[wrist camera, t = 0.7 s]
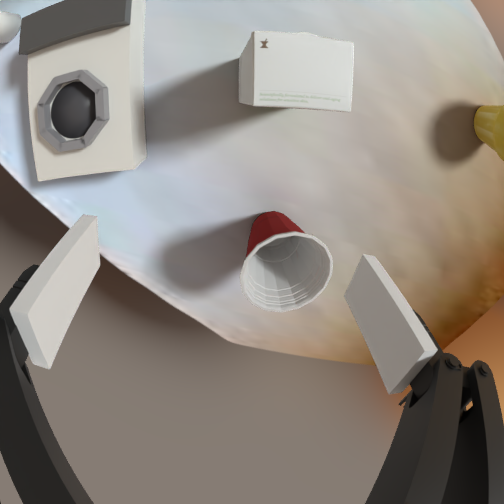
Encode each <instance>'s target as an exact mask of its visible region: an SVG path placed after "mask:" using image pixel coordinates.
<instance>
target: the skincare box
mask: <svg viewBox="0 0 504 504" xmlns="http://www.w3.org/2000/svg"><path fill="white" fill-rule="evenodd" d="M353 60H354V43H353V42H348V41H344V40H339V39H333V38H328V37H322V36H316V35H314V34H311V33H308V32H298V33H287V32H274V31H254V32H252V33H251V38H250V39H249V41H248V43H247V45H246V47H245V49H244V50H243V52H242V54H241V56H240V58H239V103H243V104H247V105H252V106H260V107H280V108H297V109H312V110H328V111H340V112H351V102H352V86H353Z"/></svg>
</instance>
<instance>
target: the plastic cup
mask: <svg viewBox="0 0 504 504" xmlns="http://www.w3.org/2000/svg"><path fill="white" fill-rule="evenodd" d="M332 268H333V258H332V256H331V254H330V251H329V249H328V247H327V245H325V244H324V243H323V242H321V241H320V240H319V239H318V238H316V237H315V236H313V235H310V234H306V233H304V232H303V231H302V230H301V229H300V228H299V227H298V226H297V225H296V224H295V223H293V222H292V221H291V220H290V219H289V218H288V217H287V216H285V215H284V214H282V213H279V212H275V211H271V212H265V213H264V214H262V215H260V216H259V217H258V218H257V219H256V220H255V221H254V223H253V225H252V228H251V233H250V237H249V241H248V248H247V254H246V258H245V261H244V264H243V267H242V270H241V273H240V277H239V278H240V283H241V289H242V293H243V294H244V296H245V297H246V298H247V299H248V301H249V302H250V303H251V304H252V305H254V306H256V307H258V308H260V309H262V310H264V311H273V312H285V311H290V310H294V309H298V308H300V307H302V306H304V305H306V304H308V303H309V302H311V301H313V300H314V299H315V298H316V297H317V296H318V295H319V294H320V293H321V292H322V291H323V290H324V289H325V288H326V286H327V284H328V282H329V280H330V278H331V275H332Z"/></svg>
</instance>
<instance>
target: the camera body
mask: <svg viewBox="0 0 504 504" xmlns="http://www.w3.org/2000/svg"><path fill="white" fill-rule="evenodd" d="M145 10H146V0H64V1H62V2H59V3H56V4H54V5H51V6H49V7H46V8H44V9H42V10H39V11H37V12H35V13H33V14H30V15H28V16H26V17H24V18H22V22H21V31H20V44H19V54H23V55H28V103H29V118H30V129H31V138H32V146H33V153H34V160H35V166H36V172H37V178H38V182H39V181H45V180H51V179H58V178H64V177H71V176H79V175H86V174H94V173H103V172H112V171H122V170H133V169H135V168H137V167H138V166H139V165H140V164H141V163H142V162H143V161H144V160H145V159H146V158H147V148H146V133H145V112H144V29H145Z"/></svg>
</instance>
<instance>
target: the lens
mask: <svg viewBox="0 0 504 504" xmlns="http://www.w3.org/2000/svg"><path fill="white" fill-rule="evenodd" d="M21 22H22V20H21V16H20V15H19V14H15V13H9V12H3V11H0V43H8V42H10V41H11V40H12V39H14V38H15V36H16V35H17V33H18V32H19V30H20V27H21Z"/></svg>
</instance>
